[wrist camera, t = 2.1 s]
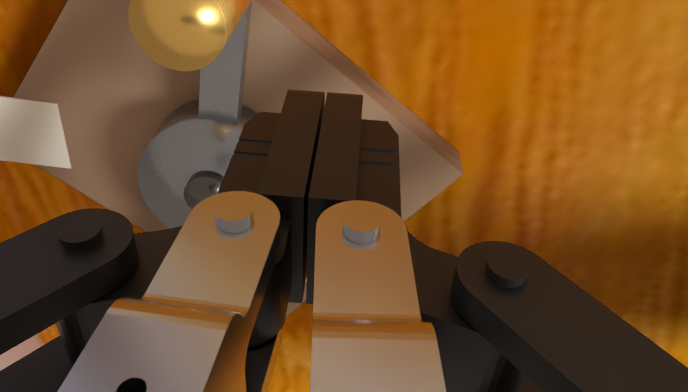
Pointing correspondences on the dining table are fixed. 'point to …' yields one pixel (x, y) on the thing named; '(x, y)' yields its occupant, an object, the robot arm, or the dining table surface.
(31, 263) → the robot arm
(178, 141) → the capstan
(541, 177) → the dining table surface
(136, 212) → the stand
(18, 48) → the dining table surface
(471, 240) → the dining table surface
